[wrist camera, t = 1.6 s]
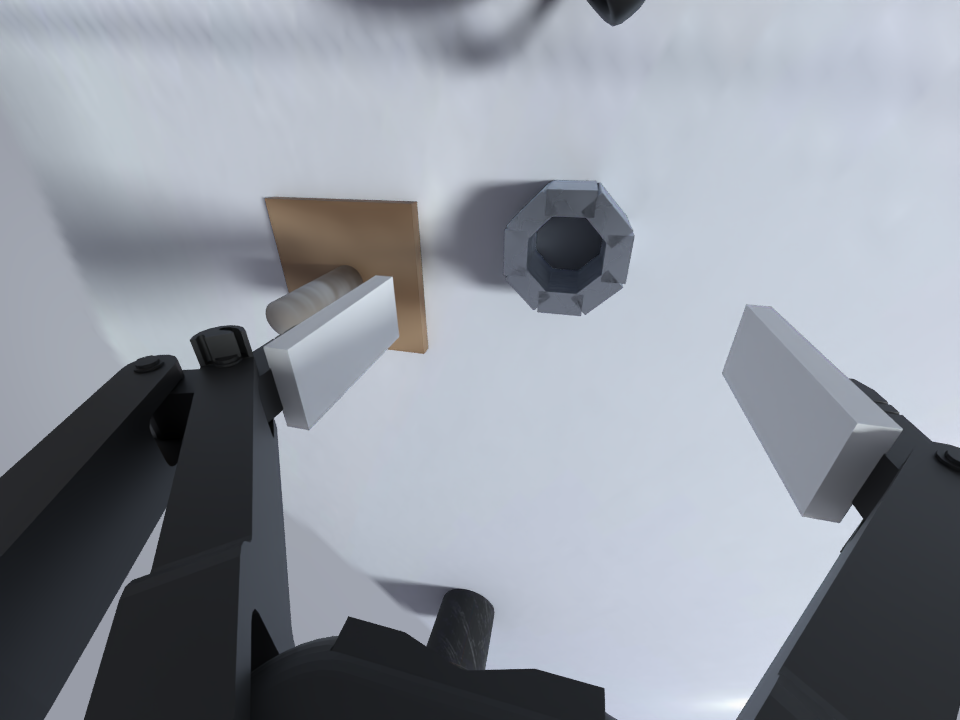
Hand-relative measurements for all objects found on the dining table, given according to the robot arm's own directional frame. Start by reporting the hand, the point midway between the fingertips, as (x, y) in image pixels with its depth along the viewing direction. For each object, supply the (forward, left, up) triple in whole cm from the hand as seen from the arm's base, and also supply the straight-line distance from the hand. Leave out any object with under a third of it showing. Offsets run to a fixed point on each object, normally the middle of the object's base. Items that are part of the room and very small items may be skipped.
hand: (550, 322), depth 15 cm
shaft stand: (+4, -17, -14) cm, 22 cm away
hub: (0, 0, -14) cm, 14 cm away
